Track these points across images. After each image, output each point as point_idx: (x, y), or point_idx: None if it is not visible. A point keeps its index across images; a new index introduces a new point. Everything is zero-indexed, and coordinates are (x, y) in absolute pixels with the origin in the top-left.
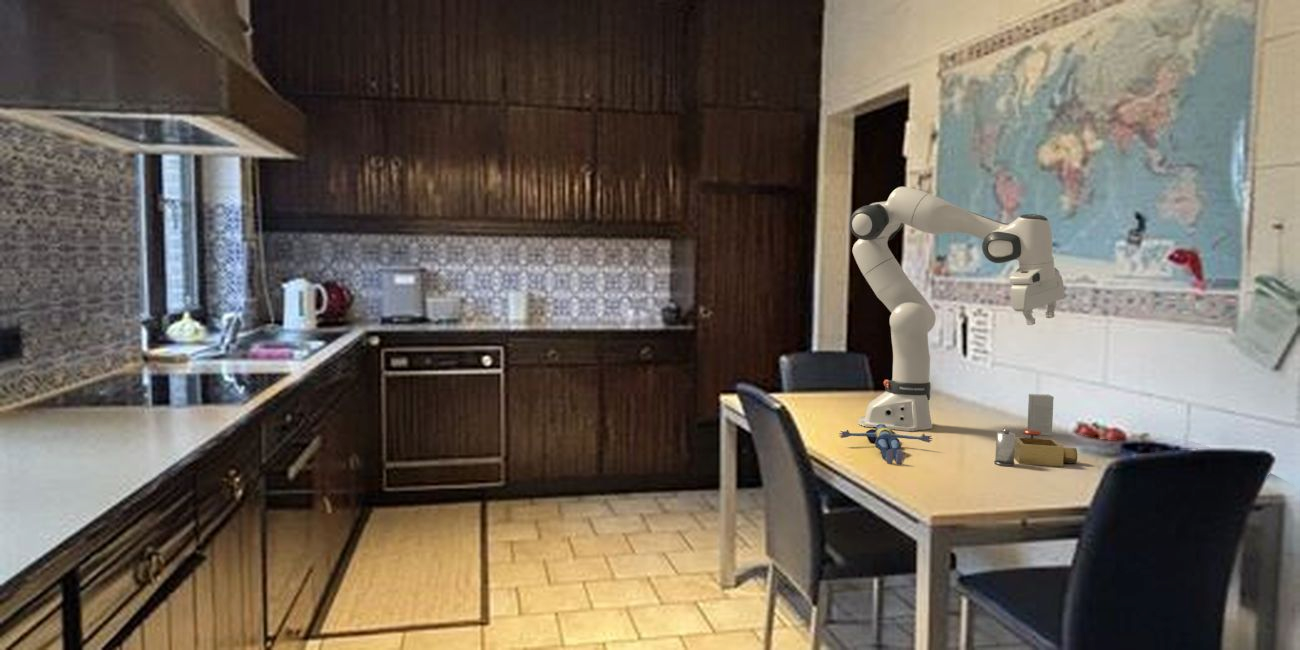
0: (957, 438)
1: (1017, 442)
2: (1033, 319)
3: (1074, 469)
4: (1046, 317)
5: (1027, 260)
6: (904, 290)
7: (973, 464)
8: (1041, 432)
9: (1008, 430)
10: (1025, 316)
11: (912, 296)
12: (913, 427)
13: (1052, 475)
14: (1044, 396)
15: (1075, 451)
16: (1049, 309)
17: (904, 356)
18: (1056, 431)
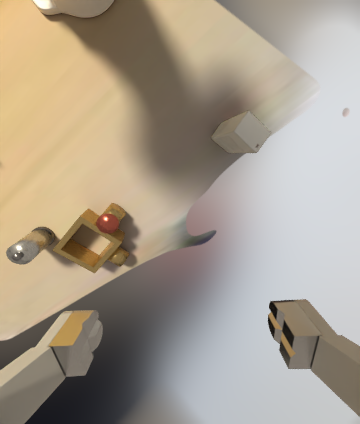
0: (90, 102)
1: (62, 238)
2: (69, 369)
3: (103, 269)
4: (272, 303)
5: None
6: None
7: (3, 224)
8: (220, 145)
9: (17, 260)
10: (2, 377)
11: None
12: (45, 6)
13: (61, 279)
14: (246, 144)
15: (118, 265)
16: (337, 365)
17: None
18: None
